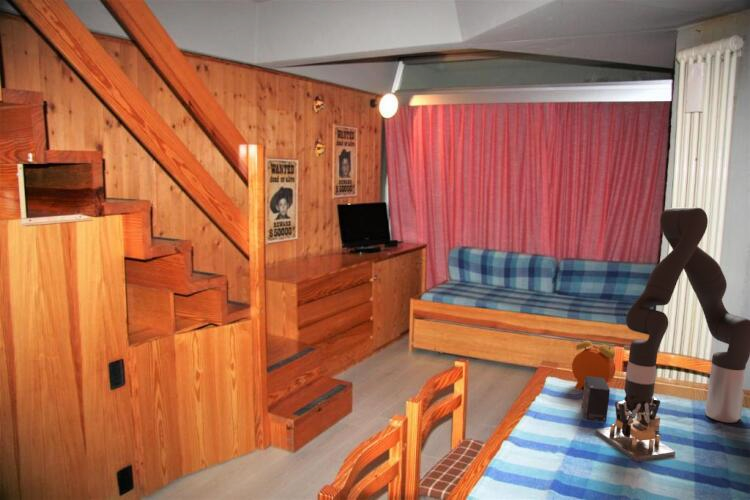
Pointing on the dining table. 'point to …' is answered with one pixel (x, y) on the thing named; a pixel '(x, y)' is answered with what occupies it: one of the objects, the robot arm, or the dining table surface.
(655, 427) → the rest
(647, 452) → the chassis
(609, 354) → the alarm clock
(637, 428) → the board
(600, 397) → the small box
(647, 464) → the dining table surface
